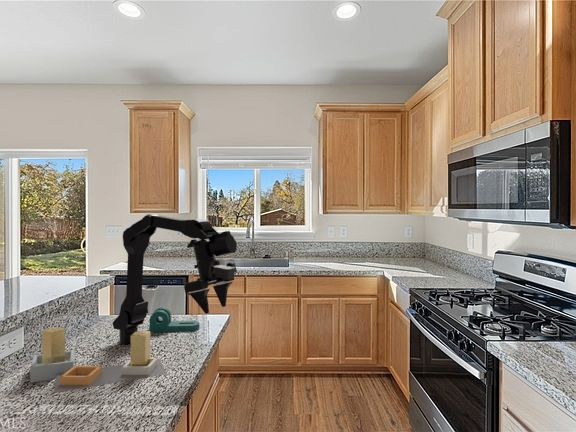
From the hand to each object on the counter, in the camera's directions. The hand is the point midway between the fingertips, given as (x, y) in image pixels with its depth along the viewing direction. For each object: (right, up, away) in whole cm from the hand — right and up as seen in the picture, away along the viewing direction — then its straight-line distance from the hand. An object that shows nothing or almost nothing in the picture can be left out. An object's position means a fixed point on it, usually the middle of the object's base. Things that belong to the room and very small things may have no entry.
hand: (215, 309), depth 123 cm
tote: (-43, -15, -10) cm, 47 cm away
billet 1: (-43, -13, -10) cm, 47 cm away
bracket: (-21, -15, +33) cm, 42 cm away
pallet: (-26, -15, -15) cm, 34 cm away
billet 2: (-19, -14, -11) cm, 26 cm away
